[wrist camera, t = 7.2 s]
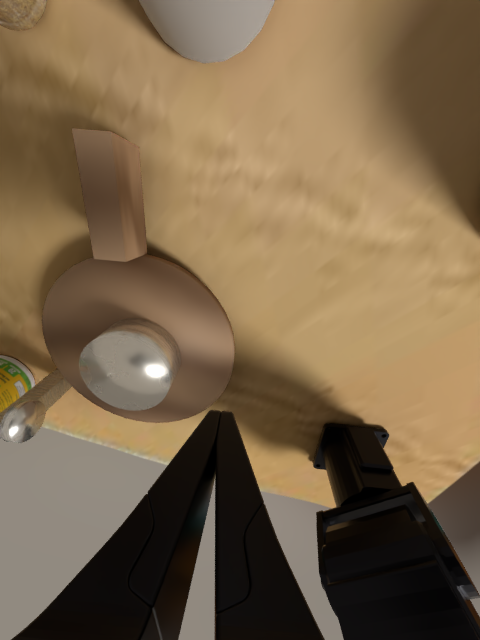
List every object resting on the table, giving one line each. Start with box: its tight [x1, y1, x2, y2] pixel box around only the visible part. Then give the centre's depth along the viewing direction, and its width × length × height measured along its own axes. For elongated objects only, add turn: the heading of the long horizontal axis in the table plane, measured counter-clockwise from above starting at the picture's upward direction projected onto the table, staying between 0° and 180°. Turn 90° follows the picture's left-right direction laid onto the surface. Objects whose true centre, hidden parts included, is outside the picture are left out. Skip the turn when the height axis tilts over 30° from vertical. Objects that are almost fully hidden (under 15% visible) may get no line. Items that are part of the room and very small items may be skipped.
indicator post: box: [0, 368, 72, 443], centre depth 21 cm, size 3×2×8 cm
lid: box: [79, 318, 181, 411], centre depth 19 cm, size 7×7×3 cm
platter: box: [42, 128, 235, 423], centre depth 18 cm, size 22×16×3 cm
